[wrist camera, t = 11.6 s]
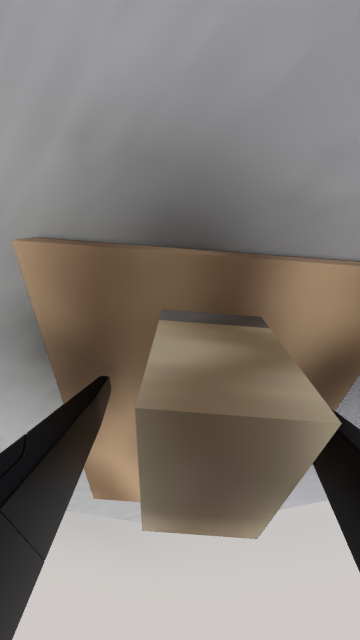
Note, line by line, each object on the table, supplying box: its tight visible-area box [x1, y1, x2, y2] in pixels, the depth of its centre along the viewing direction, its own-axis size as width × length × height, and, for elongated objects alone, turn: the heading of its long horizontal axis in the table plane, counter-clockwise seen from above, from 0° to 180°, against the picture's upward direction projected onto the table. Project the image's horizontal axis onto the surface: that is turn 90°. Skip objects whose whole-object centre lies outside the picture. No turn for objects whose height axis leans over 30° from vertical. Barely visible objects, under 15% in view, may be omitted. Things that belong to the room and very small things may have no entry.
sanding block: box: [135, 309, 342, 539], centre depth 8 cm, size 4×7×5 cm, turn 176°
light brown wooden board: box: [12, 237, 360, 502], centre depth 13 cm, size 16×22×1 cm
